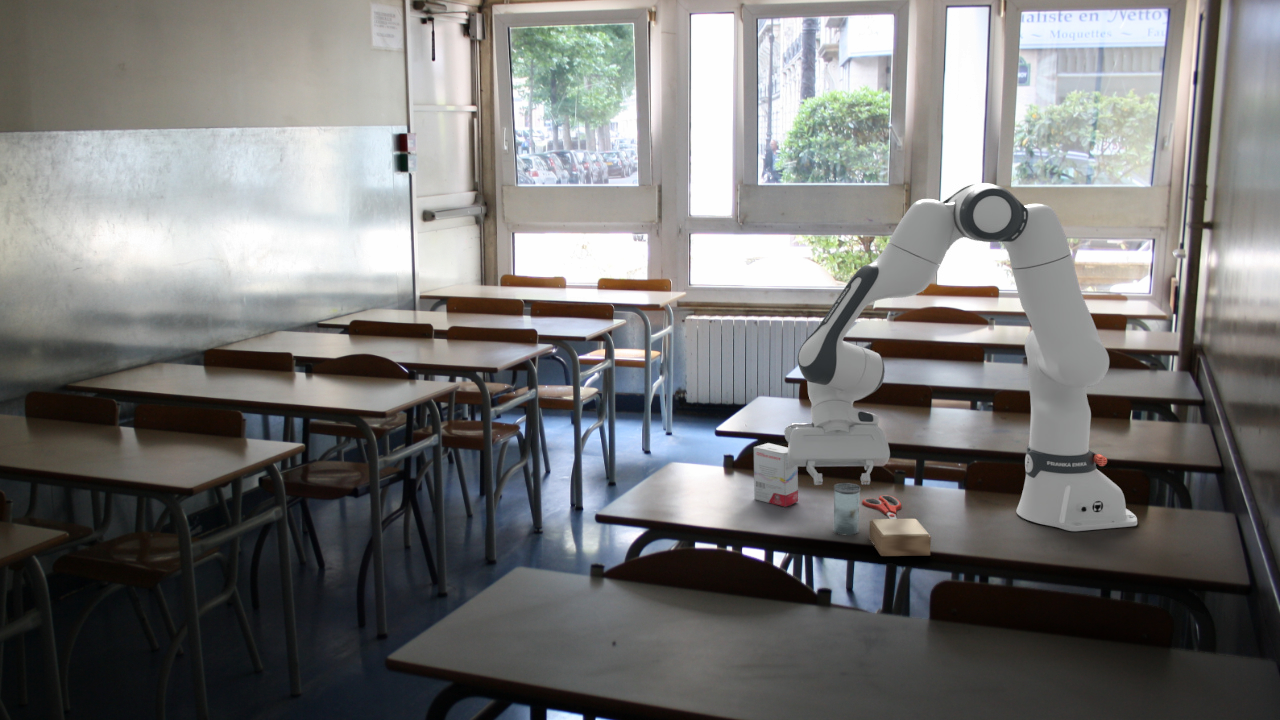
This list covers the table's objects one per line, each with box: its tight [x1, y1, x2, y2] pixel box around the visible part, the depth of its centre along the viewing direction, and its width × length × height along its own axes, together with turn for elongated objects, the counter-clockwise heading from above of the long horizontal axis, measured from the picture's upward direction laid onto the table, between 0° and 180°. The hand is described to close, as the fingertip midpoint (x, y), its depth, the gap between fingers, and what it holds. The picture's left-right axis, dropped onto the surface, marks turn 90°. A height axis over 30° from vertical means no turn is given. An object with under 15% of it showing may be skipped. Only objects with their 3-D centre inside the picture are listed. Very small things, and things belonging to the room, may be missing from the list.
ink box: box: [753, 442, 799, 508], centre depth 214 cm, size 9×5×12 cm, turn 44°
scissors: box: [861, 494, 902, 519], centre depth 205 cm, size 8×21×2 cm, turn 8°
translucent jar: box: [832, 482, 861, 536], centre depth 196 cm, size 5×5×9 cm
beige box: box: [868, 518, 932, 557], centre depth 187 cm, size 9×9×4 cm
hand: (842, 483), depth 198 cm, fingers open, 8 cm apart
